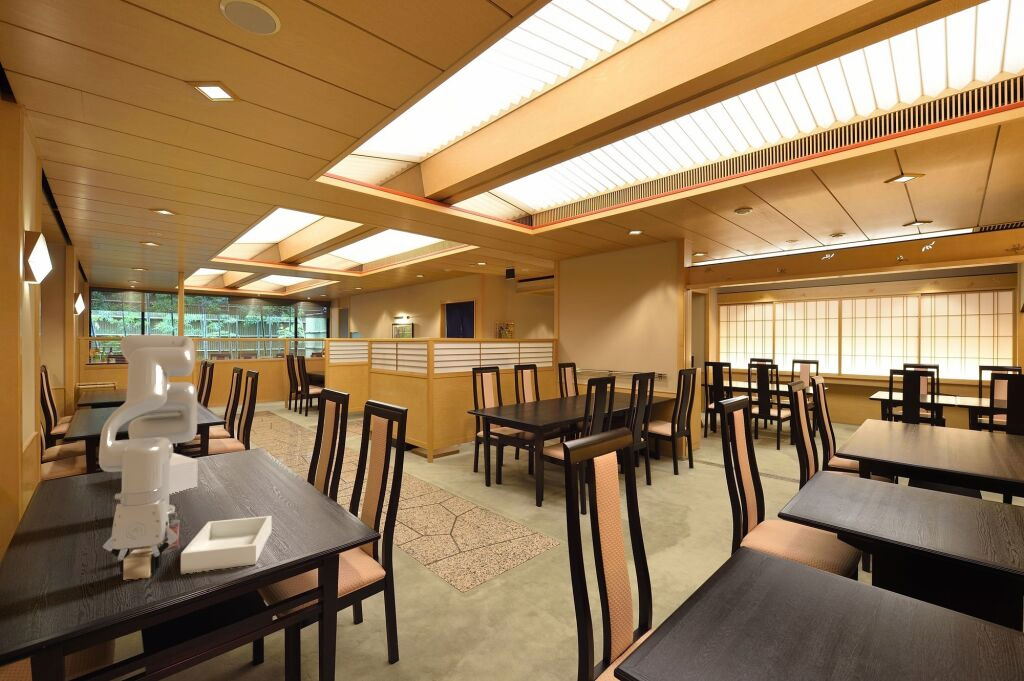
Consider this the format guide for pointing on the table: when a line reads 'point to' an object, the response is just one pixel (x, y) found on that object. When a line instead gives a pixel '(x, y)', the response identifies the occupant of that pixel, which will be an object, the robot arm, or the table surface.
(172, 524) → the lighter
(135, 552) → the cube
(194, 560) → the tote
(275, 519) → the table surface
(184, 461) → the white long block
